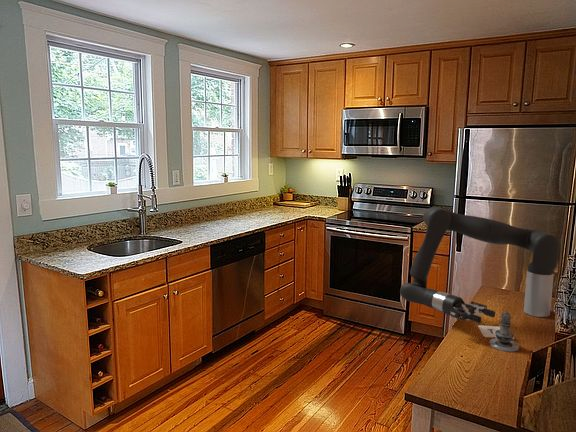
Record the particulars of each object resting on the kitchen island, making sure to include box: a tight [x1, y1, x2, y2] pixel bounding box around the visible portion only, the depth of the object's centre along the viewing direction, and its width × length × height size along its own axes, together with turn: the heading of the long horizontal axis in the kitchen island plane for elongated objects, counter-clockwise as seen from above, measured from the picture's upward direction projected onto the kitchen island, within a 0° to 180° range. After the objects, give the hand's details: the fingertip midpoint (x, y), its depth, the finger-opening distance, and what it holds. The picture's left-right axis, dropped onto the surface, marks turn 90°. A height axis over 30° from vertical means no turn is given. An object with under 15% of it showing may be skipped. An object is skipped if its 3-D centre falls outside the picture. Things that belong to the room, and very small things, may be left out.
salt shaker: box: [495, 310, 515, 347], centre depth 147 cm, size 6×6×12 cm
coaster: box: [489, 338, 520, 353], centre depth 148 cm, size 9×9×1 cm
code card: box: [477, 324, 515, 340], centre depth 158 cm, size 10×10×1 cm
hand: (487, 317), depth 152 cm, fingers open, 8 cm apart
